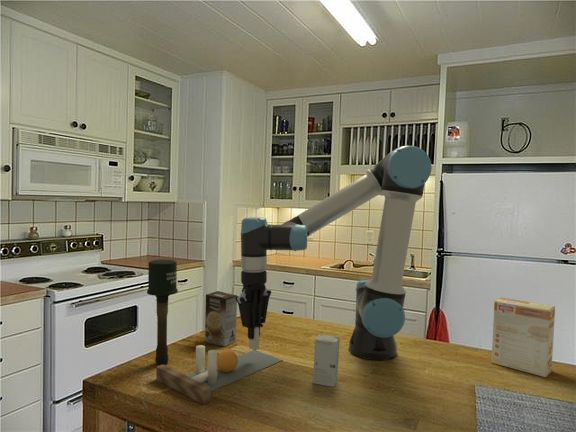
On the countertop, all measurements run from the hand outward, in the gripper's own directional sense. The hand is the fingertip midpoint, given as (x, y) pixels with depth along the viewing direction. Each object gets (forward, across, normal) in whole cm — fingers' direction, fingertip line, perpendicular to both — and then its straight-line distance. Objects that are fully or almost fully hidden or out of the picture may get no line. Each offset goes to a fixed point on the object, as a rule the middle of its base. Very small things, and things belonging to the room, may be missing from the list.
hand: (254, 348), depth 128 cm
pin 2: (+4, +18, +2) cm, 18 cm away
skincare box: (+5, -4, +24) cm, 24 cm away
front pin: (+3, +15, 0) cm, 15 cm away
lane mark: (+4, +8, 0) cm, 9 cm away
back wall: (+4, +25, 0) cm, 26 cm away
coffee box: (+4, -5, -20) cm, 21 cm away
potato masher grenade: (+4, +19, -18) cm, 27 cm away
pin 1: (+4, +18, -3) cm, 18 cm away
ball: (+1, +10, -1) cm, 10 cm away
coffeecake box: (+6, -53, +60) cm, 80 cm away
